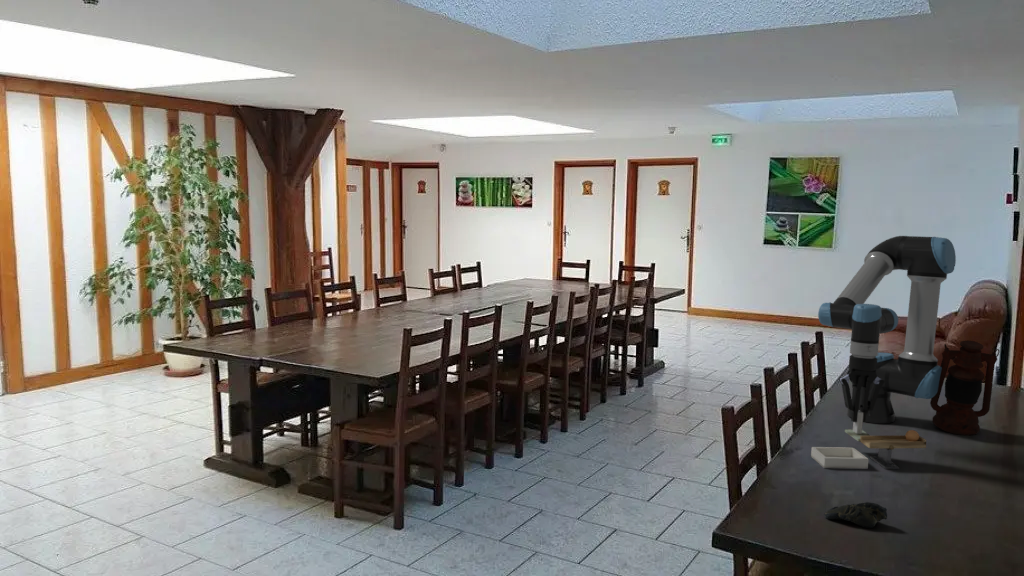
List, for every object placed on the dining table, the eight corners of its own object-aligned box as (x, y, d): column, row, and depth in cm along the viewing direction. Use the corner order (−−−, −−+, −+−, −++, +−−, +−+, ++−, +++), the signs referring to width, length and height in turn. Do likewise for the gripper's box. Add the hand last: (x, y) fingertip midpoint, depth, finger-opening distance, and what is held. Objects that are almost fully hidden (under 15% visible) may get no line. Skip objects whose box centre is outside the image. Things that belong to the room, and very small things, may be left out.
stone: (823, 512, 177) (824, 492, 176) (884, 520, 172) (885, 499, 171) (825, 524, 170) (826, 502, 170) (888, 532, 166) (889, 510, 165)
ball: (903, 440, 211) (902, 429, 211) (915, 439, 211) (914, 427, 210) (909, 444, 207) (909, 432, 207) (921, 443, 207) (921, 431, 207)
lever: (844, 432, 221) (845, 424, 221) (898, 431, 221) (899, 423, 221) (869, 449, 206) (869, 441, 205) (927, 449, 205) (927, 440, 205)
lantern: (930, 431, 240) (945, 349, 230) (923, 411, 252) (937, 332, 242) (990, 439, 234) (1009, 355, 224) (980, 418, 246) (997, 338, 236)
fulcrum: (869, 457, 215) (871, 441, 214) (883, 458, 214) (884, 441, 214) (884, 468, 206) (886, 452, 205) (899, 469, 206) (900, 452, 205)
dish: (811, 456, 215) (811, 446, 215) (852, 457, 215) (853, 447, 214) (824, 468, 206) (824, 458, 205) (867, 468, 205) (868, 458, 205)
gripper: (847, 357, 211) (841, 435, 214) (891, 359, 211) (884, 436, 214) (836, 352, 219) (830, 427, 221) (879, 353, 219) (872, 429, 221)
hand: (857, 432), depth 218 cm, fingers closed
